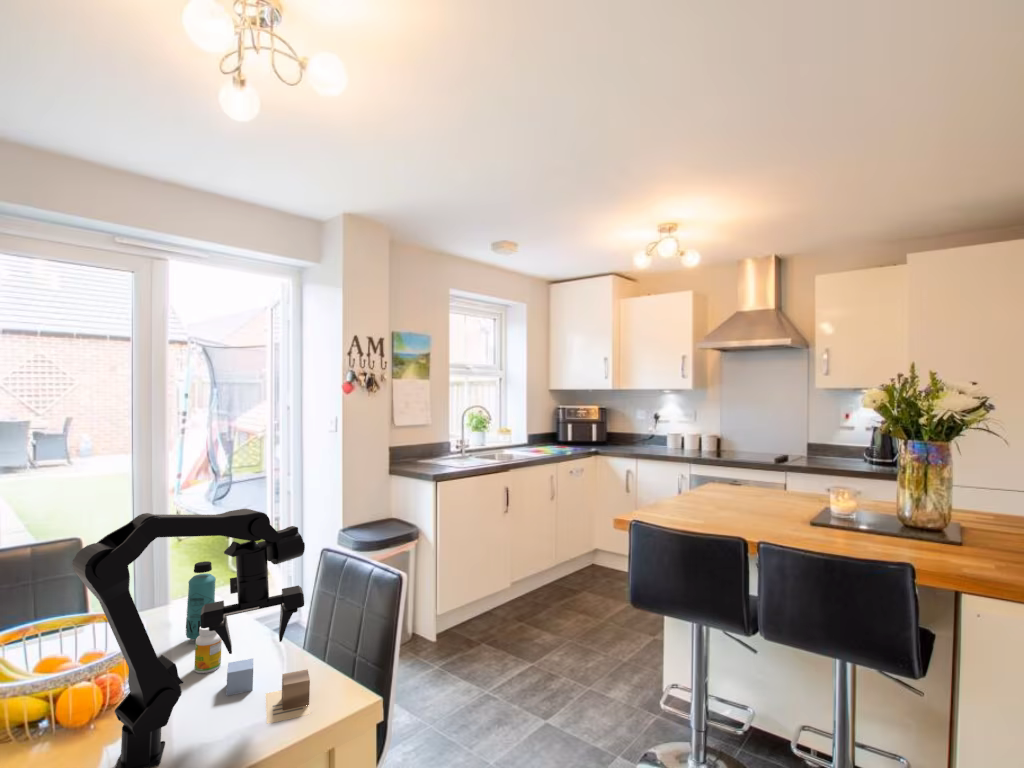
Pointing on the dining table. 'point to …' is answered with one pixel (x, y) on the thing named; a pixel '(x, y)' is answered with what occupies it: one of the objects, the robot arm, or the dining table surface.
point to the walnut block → (295, 689)
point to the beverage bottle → (199, 597)
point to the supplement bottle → (207, 651)
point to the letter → (276, 710)
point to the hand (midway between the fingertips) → (256, 646)
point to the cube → (240, 676)
